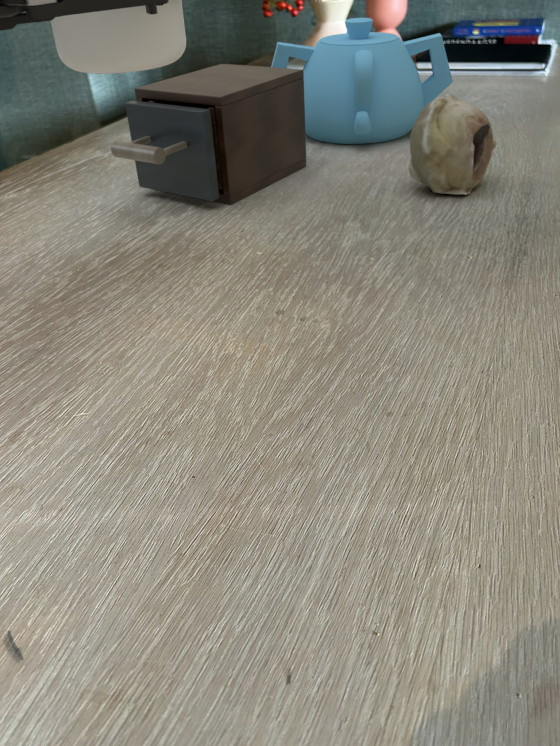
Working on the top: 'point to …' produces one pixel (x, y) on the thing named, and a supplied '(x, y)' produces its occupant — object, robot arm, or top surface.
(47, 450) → the top surface
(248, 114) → the cabinet
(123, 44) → the cup
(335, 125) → the teapot
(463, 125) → the garlic bulb
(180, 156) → the drawer
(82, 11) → the robot arm
